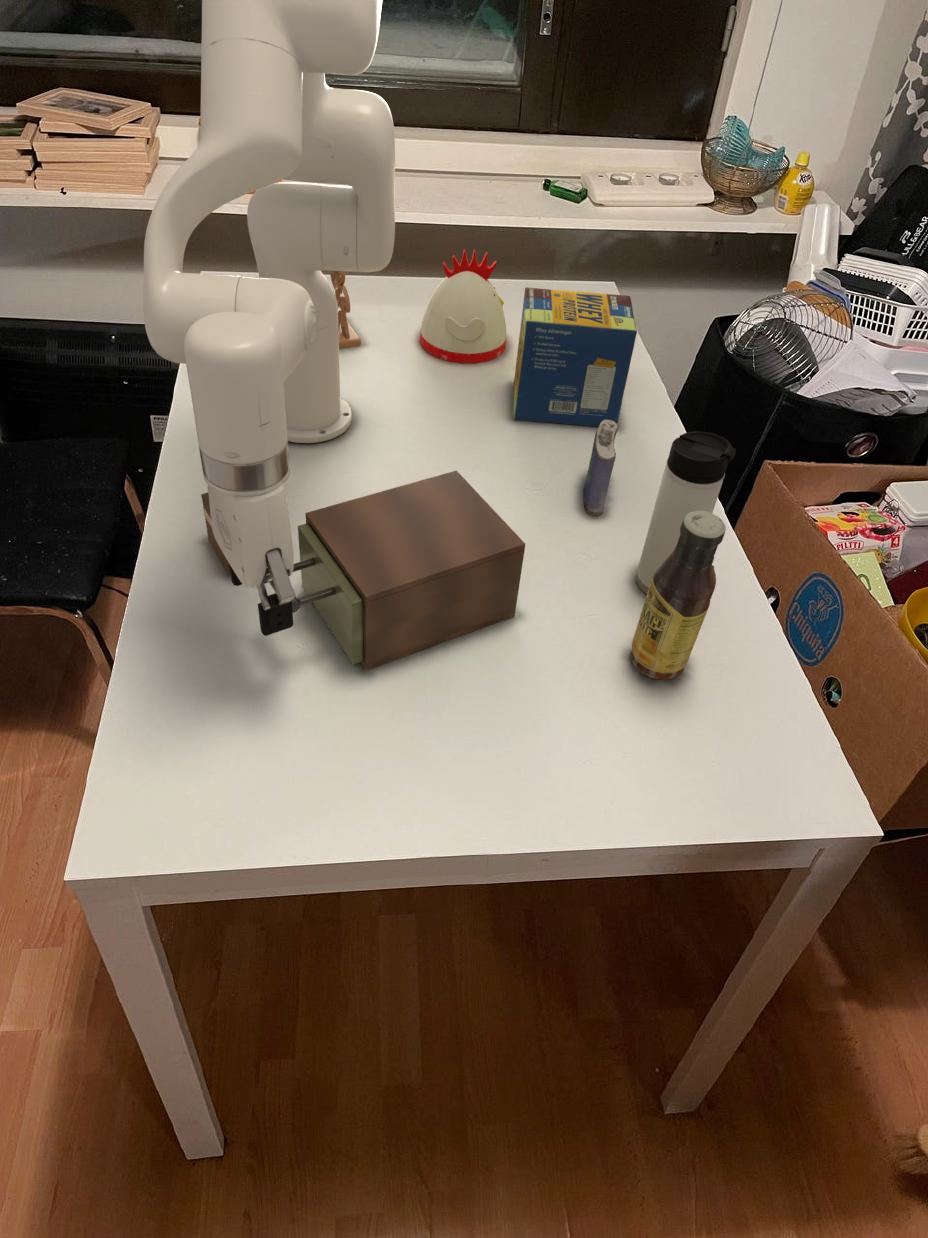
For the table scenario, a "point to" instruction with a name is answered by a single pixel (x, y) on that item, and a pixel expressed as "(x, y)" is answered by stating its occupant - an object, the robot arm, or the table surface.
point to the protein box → (573, 356)
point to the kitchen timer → (465, 315)
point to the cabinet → (423, 563)
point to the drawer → (329, 593)
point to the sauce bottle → (678, 599)
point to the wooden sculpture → (343, 312)
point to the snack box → (210, 533)
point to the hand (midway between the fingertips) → (262, 603)
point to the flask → (600, 468)
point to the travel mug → (683, 494)
